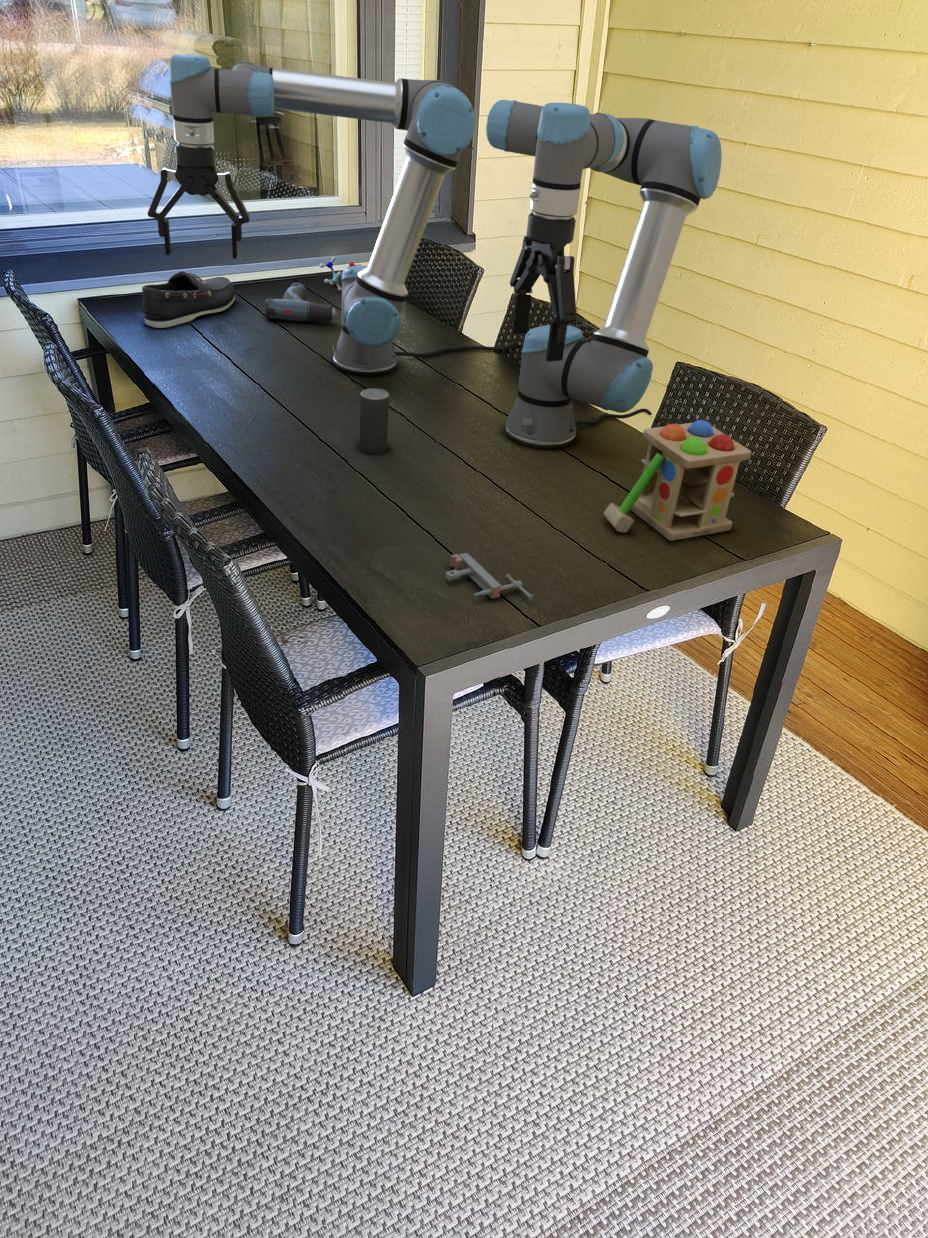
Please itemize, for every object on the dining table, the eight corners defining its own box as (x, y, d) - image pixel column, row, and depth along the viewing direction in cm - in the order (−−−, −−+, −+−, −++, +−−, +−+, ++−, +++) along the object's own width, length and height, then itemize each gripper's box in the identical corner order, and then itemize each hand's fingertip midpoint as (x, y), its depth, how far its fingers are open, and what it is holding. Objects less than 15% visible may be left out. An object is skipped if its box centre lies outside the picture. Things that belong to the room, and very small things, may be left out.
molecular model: (352, 283, 281) (340, 248, 280) (324, 295, 285) (312, 261, 283) (368, 285, 291) (357, 252, 290) (341, 297, 295) (330, 265, 294)
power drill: (344, 304, 276) (335, 327, 259) (277, 298, 275) (264, 321, 258) (344, 285, 273) (335, 306, 256) (277, 279, 272) (264, 300, 255)
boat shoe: (253, 306, 269) (251, 267, 264) (162, 330, 245) (157, 287, 240) (219, 297, 275) (216, 259, 269) (126, 320, 251) (121, 278, 245)
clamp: (435, 558, 161) (487, 546, 165) (434, 569, 162) (486, 557, 167) (482, 605, 150) (536, 591, 155) (480, 617, 152) (534, 603, 156)
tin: (392, 449, 200) (395, 395, 193) (371, 456, 196) (372, 401, 190) (375, 439, 203) (376, 386, 196) (353, 446, 199) (354, 391, 193)
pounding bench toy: (630, 549, 173) (650, 456, 163) (588, 512, 183) (603, 423, 173) (732, 530, 182) (756, 441, 172) (686, 496, 193) (706, 410, 183)
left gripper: (126, 142, 189) (137, 256, 201) (258, 151, 193) (261, 262, 204) (132, 136, 195) (143, 246, 207) (260, 145, 199) (263, 253, 211)
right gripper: (498, 196, 162) (486, 323, 174) (567, 234, 144) (548, 374, 156) (539, 196, 165) (524, 321, 177) (612, 234, 146) (590, 371, 158)
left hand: (201, 255), depth 206 cm, fingers open, 13 cm apart
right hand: (536, 346), depth 166 cm, fingers open, 13 cm apart
